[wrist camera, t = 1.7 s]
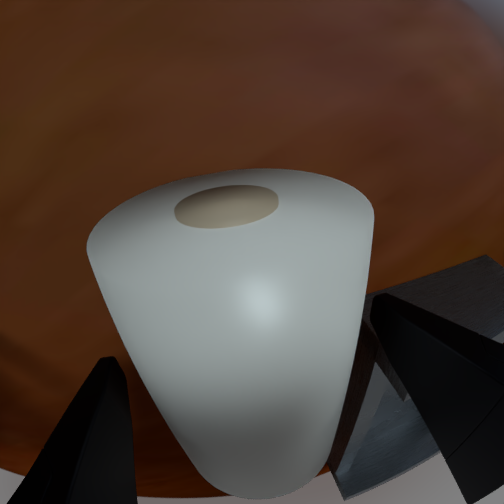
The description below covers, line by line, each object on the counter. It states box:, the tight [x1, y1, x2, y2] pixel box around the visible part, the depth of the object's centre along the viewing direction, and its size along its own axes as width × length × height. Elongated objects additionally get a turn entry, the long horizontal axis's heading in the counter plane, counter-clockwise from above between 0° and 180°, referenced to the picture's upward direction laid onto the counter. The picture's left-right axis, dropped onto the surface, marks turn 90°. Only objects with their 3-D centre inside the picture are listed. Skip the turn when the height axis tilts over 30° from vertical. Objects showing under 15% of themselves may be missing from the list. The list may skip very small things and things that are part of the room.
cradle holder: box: [326, 255, 504, 501], centre depth 14 cm, size 9×14×4 cm, turn 5°
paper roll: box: [87, 168, 374, 499], centre depth 8 cm, size 9×6×6 cm, turn 5°
